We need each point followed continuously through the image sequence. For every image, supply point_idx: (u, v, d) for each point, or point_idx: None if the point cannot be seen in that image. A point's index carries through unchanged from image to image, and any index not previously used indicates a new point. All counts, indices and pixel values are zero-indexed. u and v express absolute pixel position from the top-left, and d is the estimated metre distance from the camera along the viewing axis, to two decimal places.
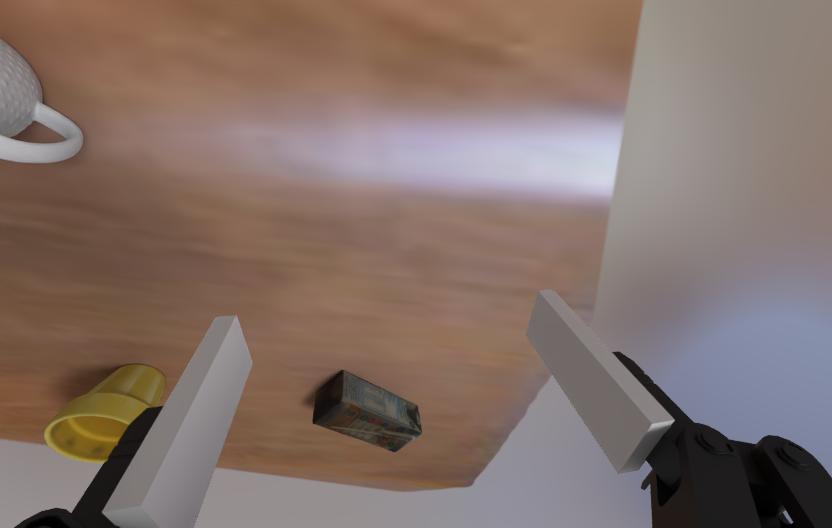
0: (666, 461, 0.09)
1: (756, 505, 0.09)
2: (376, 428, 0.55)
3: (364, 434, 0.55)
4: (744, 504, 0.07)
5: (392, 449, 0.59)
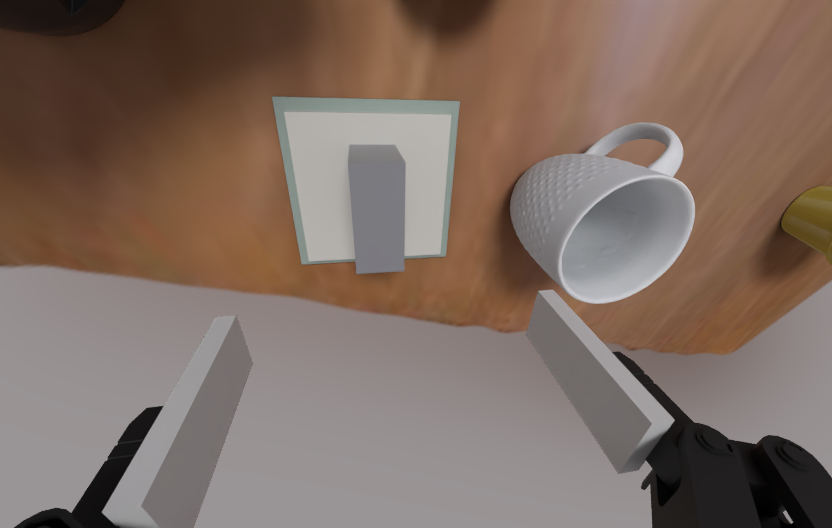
0: (666, 461, 0.09)
1: (756, 505, 0.09)
2: None
3: None
4: (744, 504, 0.07)
5: None
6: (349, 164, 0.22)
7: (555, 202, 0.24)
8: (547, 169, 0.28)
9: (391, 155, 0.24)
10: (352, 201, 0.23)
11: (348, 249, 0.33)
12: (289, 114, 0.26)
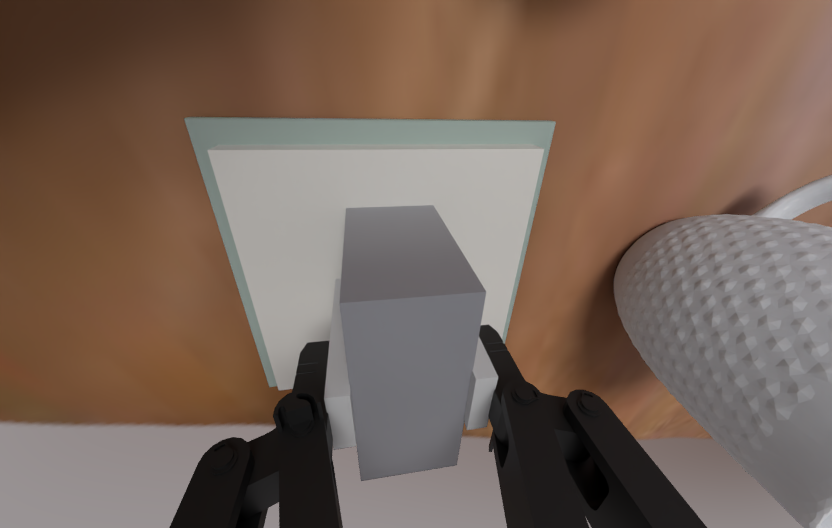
0: (498, 424, 0.10)
1: (563, 450, 0.10)
2: None
3: None
4: (551, 442, 0.08)
5: None
6: (343, 305, 0.08)
7: (806, 353, 0.11)
8: (732, 254, 0.14)
9: (440, 252, 0.11)
10: (352, 375, 0.10)
11: None
12: (219, 154, 0.12)
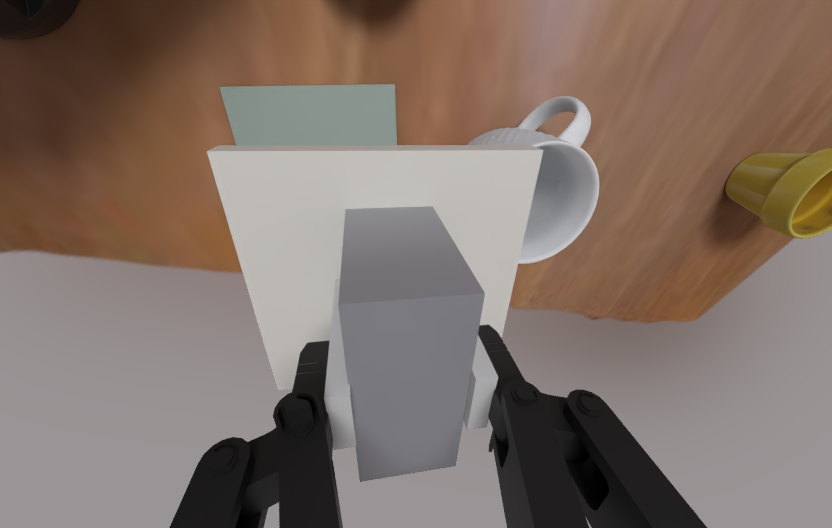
0: (498, 424, 0.10)
1: (563, 450, 0.10)
2: None
3: None
4: (551, 442, 0.08)
5: None
6: (342, 307, 0.08)
7: None
8: (475, 143, 0.30)
9: (439, 254, 0.11)
10: (351, 376, 0.10)
11: None
12: (218, 155, 0.12)
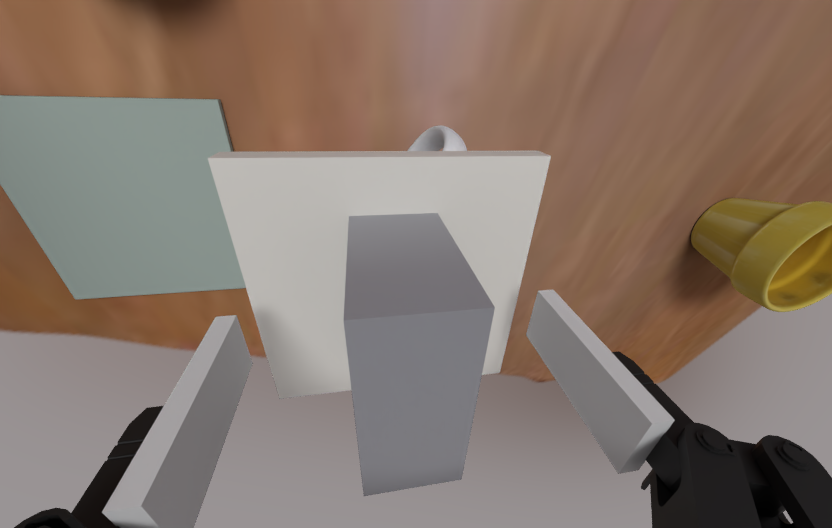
0: (666, 461, 0.09)
1: (756, 505, 0.09)
2: None
3: None
4: (744, 504, 0.07)
5: None
6: (348, 322, 0.08)
7: None
8: None
9: (446, 264, 0.10)
10: (357, 391, 0.09)
11: (348, 377, 0.19)
12: (219, 162, 0.12)
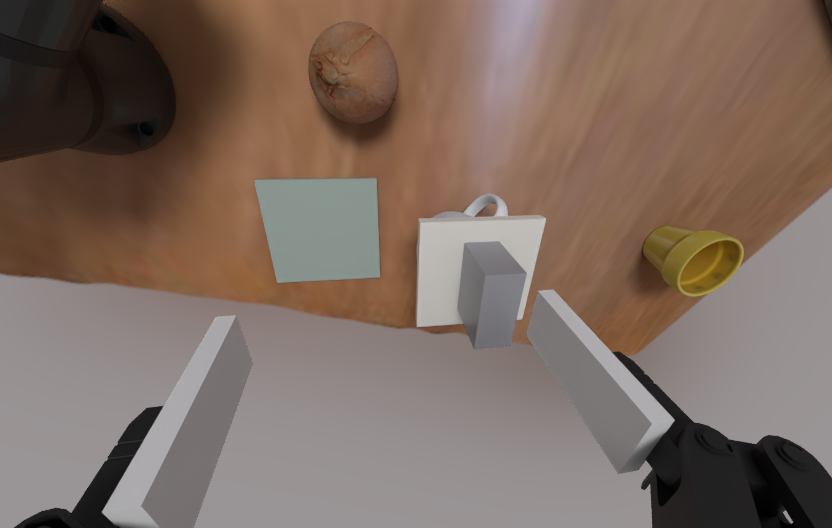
0: (666, 461, 0.09)
1: (756, 505, 0.09)
2: None
3: None
4: (744, 504, 0.07)
5: None
6: (486, 276, 0.28)
7: None
8: None
9: (509, 261, 0.31)
10: (483, 300, 0.30)
11: (449, 317, 0.39)
12: (423, 224, 0.33)
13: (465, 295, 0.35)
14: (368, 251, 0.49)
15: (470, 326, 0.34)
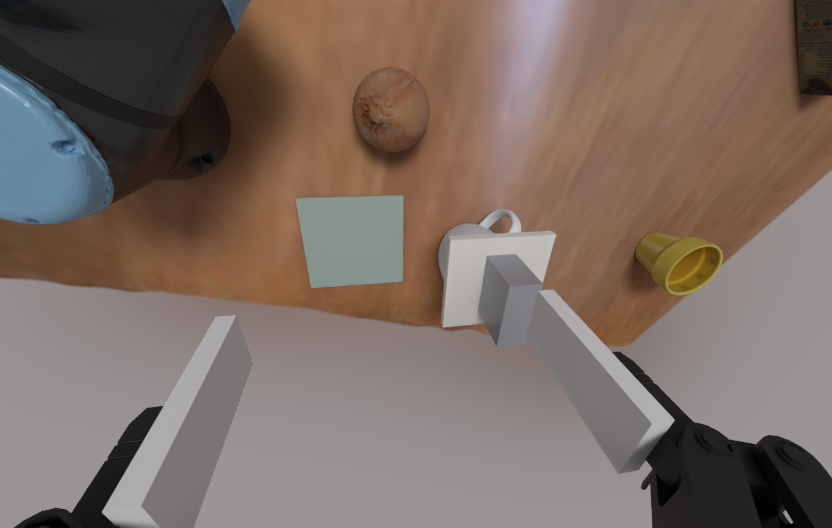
0: (666, 461, 0.09)
1: (756, 505, 0.09)
2: None
3: None
4: (744, 504, 0.07)
5: None
6: (510, 287, 0.34)
7: None
8: (453, 235, 0.48)
9: (527, 273, 0.37)
10: (506, 306, 0.36)
11: (471, 318, 0.45)
12: (453, 241, 0.38)
13: (487, 301, 0.41)
14: (393, 259, 0.54)
15: (492, 327, 0.40)
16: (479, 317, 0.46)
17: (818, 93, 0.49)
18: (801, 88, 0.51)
